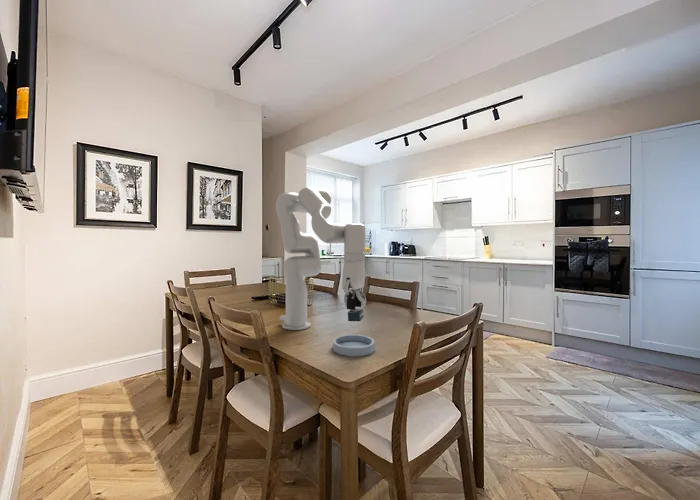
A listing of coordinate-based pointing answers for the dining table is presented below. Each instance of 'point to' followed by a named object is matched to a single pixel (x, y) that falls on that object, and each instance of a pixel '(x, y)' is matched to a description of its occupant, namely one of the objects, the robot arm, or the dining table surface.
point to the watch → (357, 313)
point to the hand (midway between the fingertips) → (354, 307)
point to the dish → (353, 345)
